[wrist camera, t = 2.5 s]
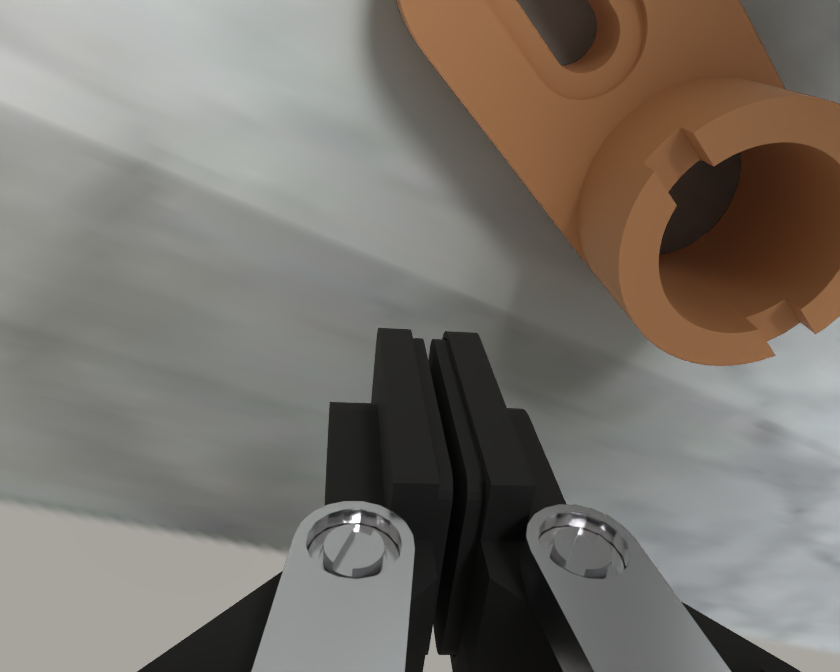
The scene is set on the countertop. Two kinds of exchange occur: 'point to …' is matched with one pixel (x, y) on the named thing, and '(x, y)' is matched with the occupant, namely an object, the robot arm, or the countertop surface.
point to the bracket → (660, 160)
